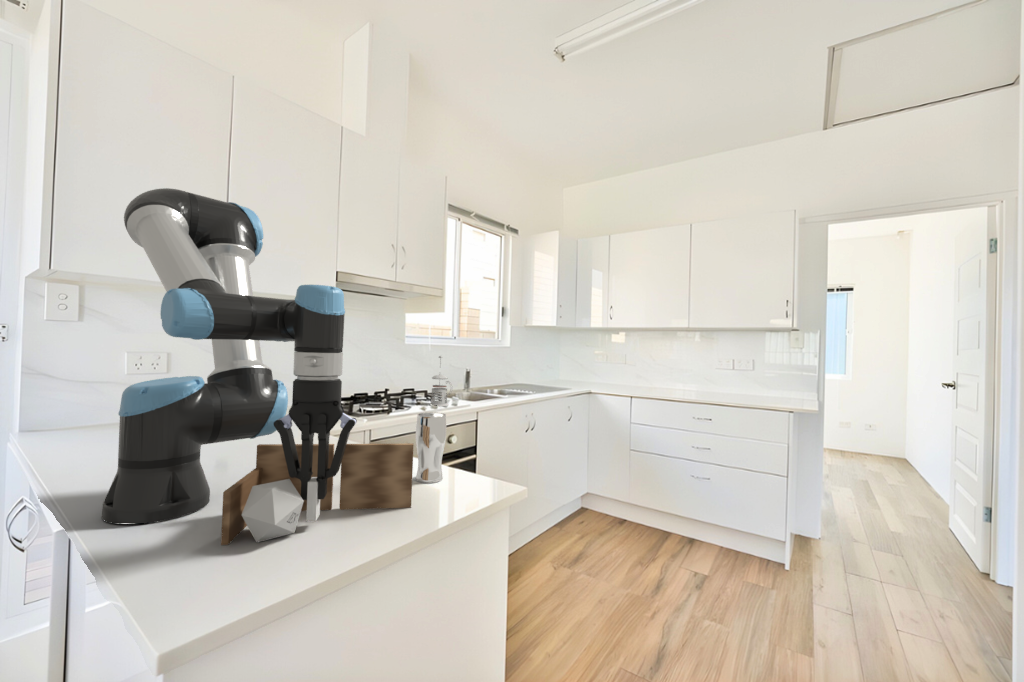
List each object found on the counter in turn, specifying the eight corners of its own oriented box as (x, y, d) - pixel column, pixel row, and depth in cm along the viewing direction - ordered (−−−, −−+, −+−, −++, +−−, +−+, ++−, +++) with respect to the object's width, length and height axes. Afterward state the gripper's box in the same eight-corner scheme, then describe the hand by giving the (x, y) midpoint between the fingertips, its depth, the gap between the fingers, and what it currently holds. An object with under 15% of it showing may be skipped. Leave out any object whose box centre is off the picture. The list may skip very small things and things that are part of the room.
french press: (434, 403, 231) (435, 355, 231) (454, 404, 228) (456, 356, 228) (425, 405, 221) (427, 355, 221) (447, 407, 218) (449, 356, 218)
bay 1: (220, 545, 67) (224, 465, 67) (256, 510, 80) (259, 444, 81) (312, 541, 69) (315, 464, 69) (331, 508, 83) (334, 443, 83)
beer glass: (430, 486, 98) (432, 417, 98) (407, 479, 101) (410, 414, 102) (450, 478, 104) (453, 414, 104) (428, 473, 107) (430, 411, 107)
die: (286, 550, 66) (318, 484, 71) (223, 531, 63) (261, 464, 69) (285, 551, 73) (314, 491, 78) (228, 534, 70) (262, 473, 76)
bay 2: (339, 509, 82) (341, 445, 82) (340, 507, 83) (342, 443, 83) (411, 507, 85) (413, 444, 85) (411, 505, 86) (413, 443, 86)
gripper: (268, 378, 70) (262, 529, 69) (354, 380, 72) (349, 525, 72) (283, 375, 77) (278, 511, 77) (361, 376, 79) (357, 508, 79)
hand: (313, 518), depth 74 cm, fingers closed
